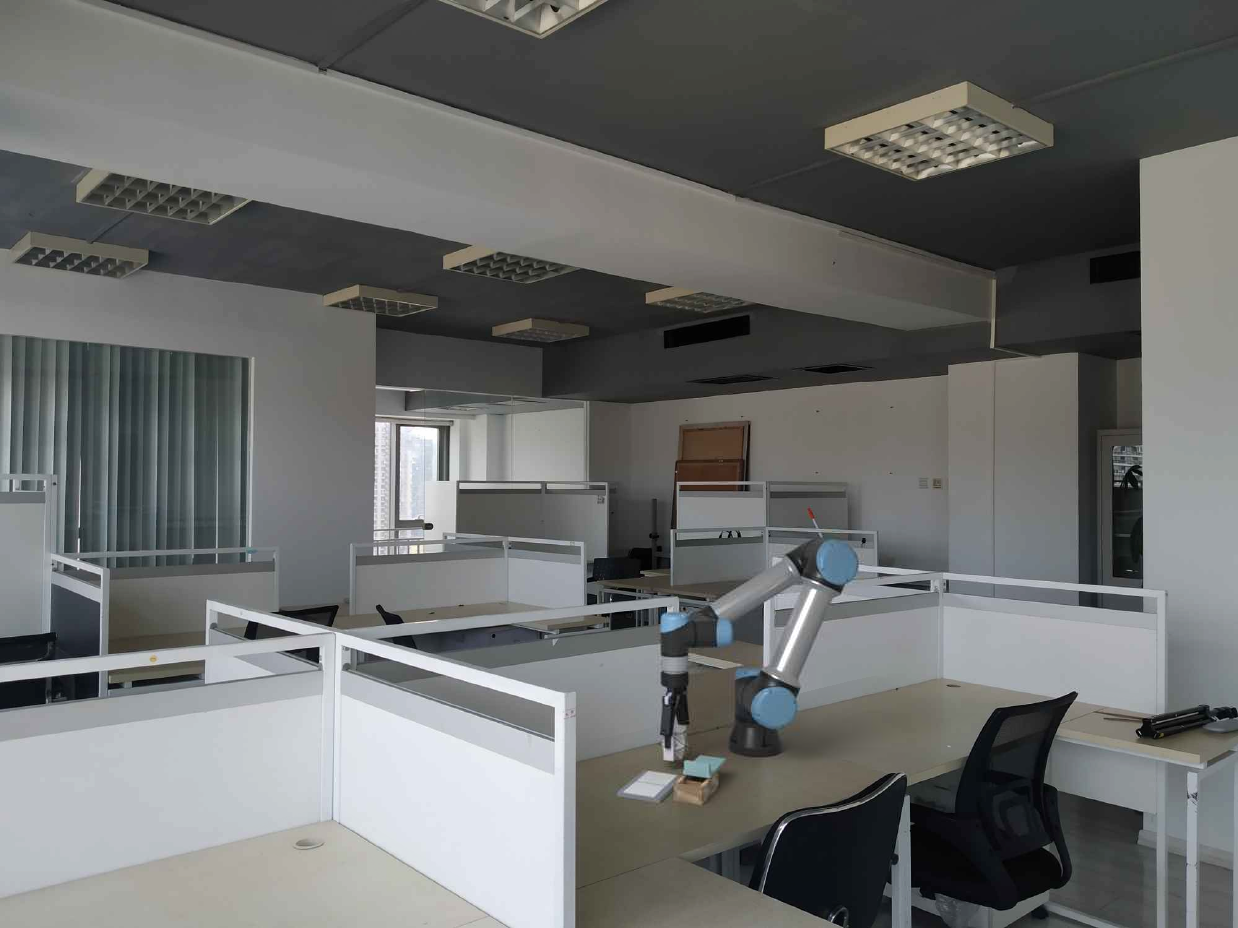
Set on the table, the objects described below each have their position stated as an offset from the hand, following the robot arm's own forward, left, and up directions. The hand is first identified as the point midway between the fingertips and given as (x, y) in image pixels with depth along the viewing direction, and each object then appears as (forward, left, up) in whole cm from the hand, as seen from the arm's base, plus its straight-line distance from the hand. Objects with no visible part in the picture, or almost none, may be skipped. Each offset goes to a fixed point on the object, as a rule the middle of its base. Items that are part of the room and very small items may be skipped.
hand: (675, 754), depth 241 cm
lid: (+11, +12, +1) cm, 16 cm away
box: (+17, +12, -3) cm, 21 cm away
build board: (+18, 0, -3) cm, 19 cm away
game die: (0, 0, -2) cm, 2 cm away
